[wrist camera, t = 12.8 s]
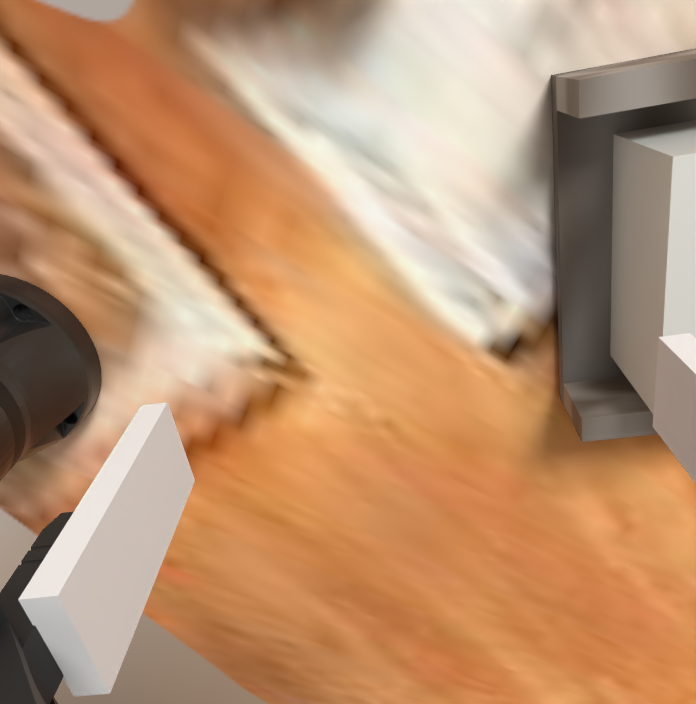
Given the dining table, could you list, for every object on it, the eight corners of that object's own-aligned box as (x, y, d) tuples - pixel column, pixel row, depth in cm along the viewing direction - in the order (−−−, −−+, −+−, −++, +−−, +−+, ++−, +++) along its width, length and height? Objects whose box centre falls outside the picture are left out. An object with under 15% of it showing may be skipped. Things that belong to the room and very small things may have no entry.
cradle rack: (560, 397, 49) (582, 442, 43) (551, 75, 38) (578, 80, 33) (718, 378, 47) (761, 422, 42) (753, 37, 37) (818, 36, 31)
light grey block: (610, 355, 46) (657, 421, 38) (613, 133, 39) (673, 156, 31) (680, 346, 45) (743, 411, 37) (696, 119, 38) (779, 139, 30)
